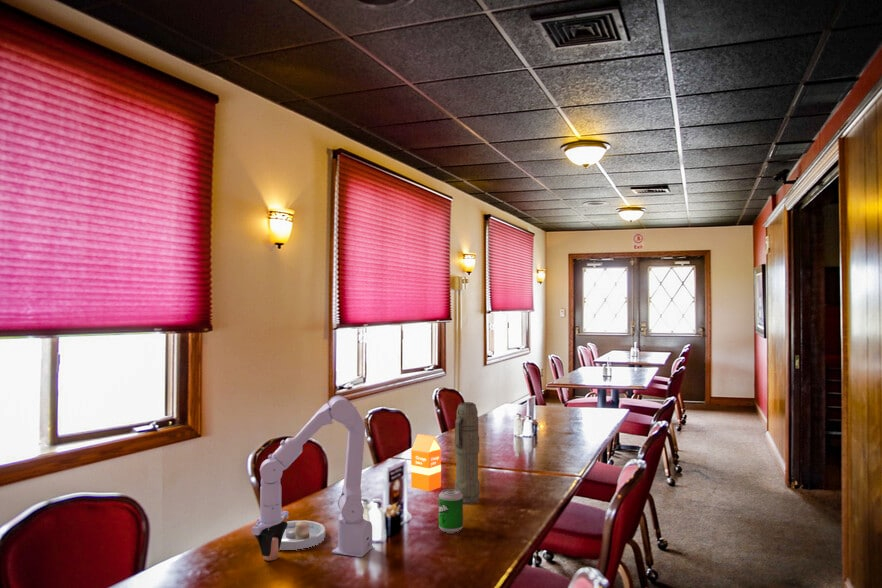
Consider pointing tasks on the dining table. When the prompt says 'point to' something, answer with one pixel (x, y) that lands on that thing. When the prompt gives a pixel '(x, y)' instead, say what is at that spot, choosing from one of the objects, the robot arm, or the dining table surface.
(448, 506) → the soda can
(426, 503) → the dining table surface
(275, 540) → the ball
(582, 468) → the dining table surface
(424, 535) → the dining table surface
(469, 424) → the thermos
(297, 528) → the maple bead
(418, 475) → the orange juice
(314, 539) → the groove tray
